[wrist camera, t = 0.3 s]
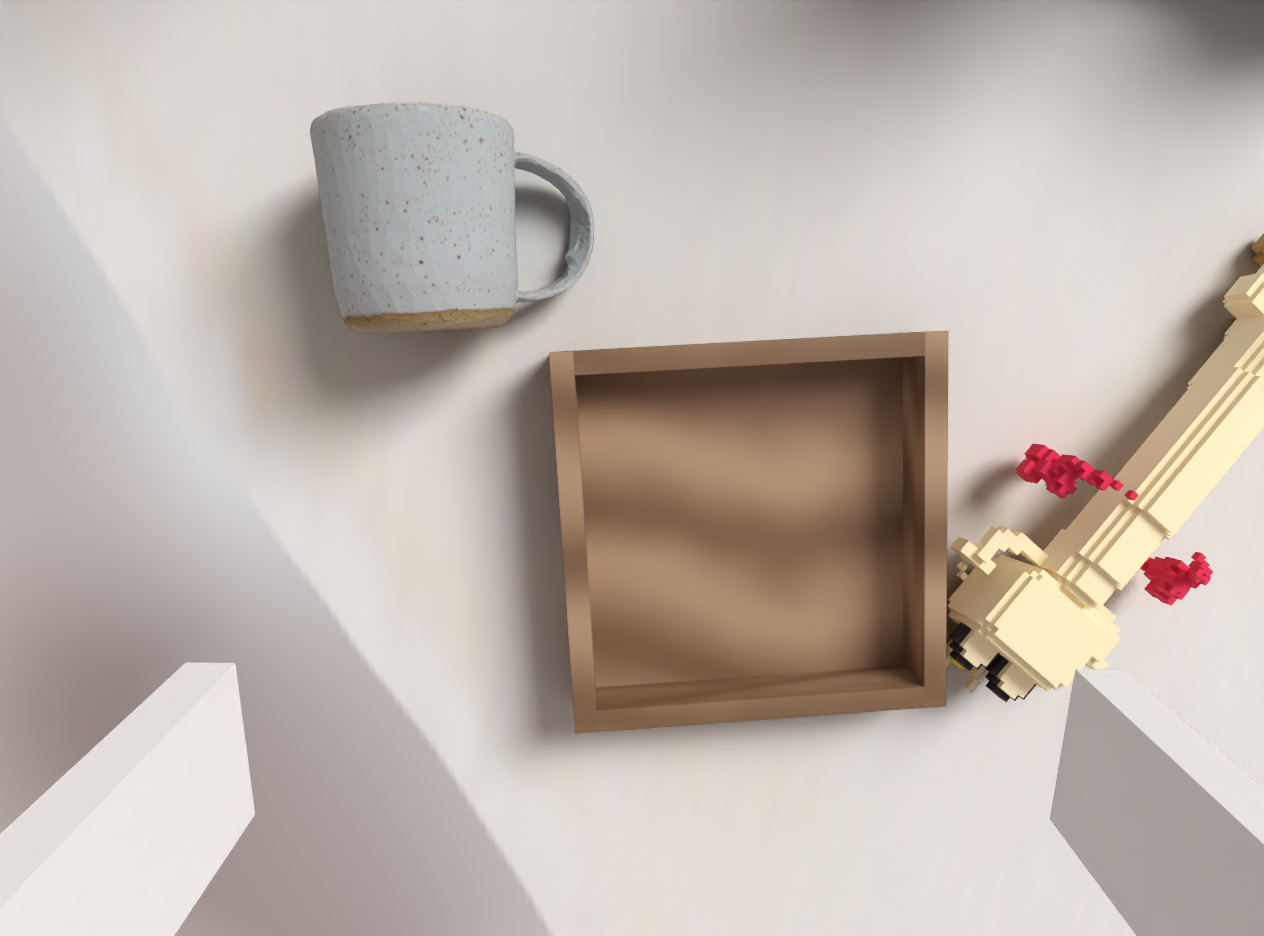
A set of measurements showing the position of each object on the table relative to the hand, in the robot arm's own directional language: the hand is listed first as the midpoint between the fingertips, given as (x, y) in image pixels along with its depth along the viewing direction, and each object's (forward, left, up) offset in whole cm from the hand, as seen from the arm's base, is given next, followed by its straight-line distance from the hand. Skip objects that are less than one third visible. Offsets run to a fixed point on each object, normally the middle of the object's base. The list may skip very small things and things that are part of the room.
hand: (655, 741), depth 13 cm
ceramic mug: (-12, -6, -26) cm, 29 cm away
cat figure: (+1, +24, -26) cm, 36 cm away
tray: (+2, +6, -25) cm, 26 cm away
